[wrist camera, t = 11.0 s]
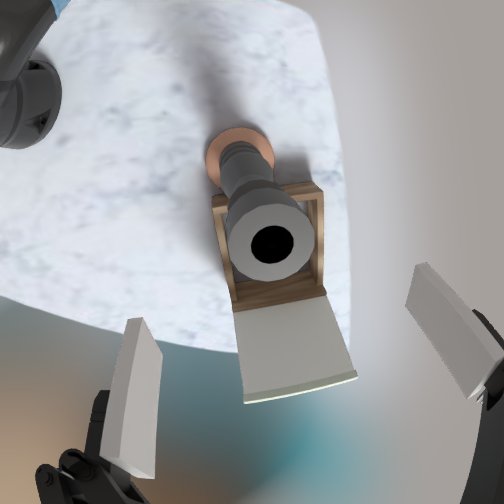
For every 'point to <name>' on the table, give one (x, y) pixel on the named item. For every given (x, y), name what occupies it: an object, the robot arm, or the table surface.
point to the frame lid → (290, 350)
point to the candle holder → (261, 217)
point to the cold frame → (291, 286)
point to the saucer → (227, 139)
